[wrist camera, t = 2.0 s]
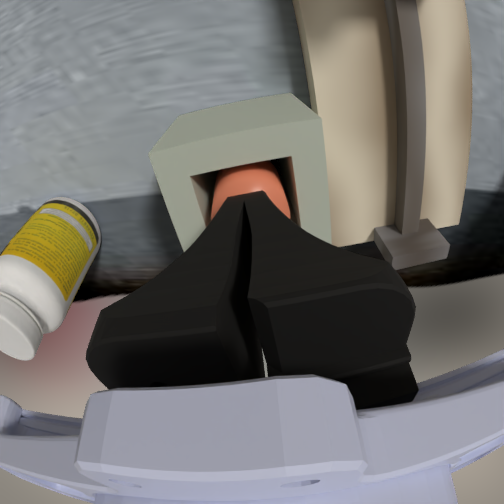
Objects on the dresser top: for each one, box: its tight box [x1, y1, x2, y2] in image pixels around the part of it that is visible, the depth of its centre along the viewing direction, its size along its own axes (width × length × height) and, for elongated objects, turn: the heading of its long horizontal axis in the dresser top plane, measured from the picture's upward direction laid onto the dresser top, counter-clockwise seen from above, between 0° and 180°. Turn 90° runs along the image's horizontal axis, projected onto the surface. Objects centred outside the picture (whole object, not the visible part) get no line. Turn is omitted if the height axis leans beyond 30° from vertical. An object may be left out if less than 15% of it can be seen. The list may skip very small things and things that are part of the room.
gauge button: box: [211, 160, 290, 220], centre depth 12 cm, size 3×3×3 cm
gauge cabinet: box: [148, 93, 332, 252], centre depth 14 cm, size 6×6×6 cm
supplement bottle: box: [0, 197, 101, 360], centre depth 15 cm, size 5×5×10 cm
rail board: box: [292, 0, 472, 270], centre depth 11 cm, size 10×24×4 cm, turn 11°
